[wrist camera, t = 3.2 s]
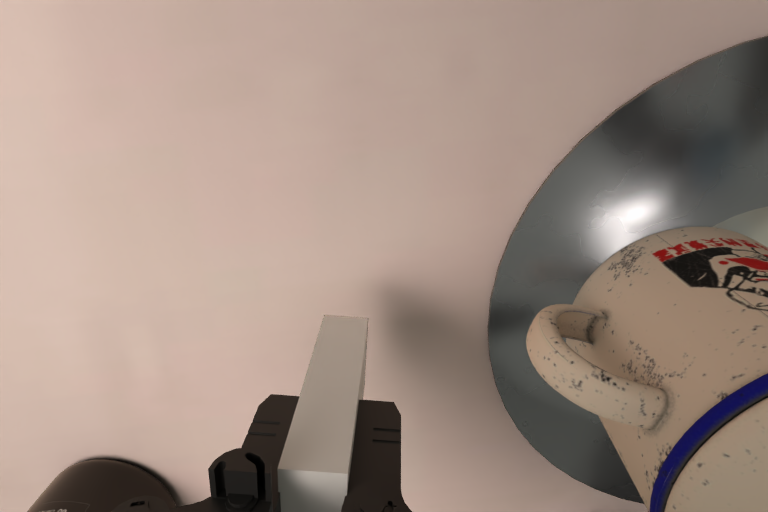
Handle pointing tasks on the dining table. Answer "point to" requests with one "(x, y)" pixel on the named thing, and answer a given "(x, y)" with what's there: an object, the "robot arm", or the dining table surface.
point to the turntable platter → (627, 229)
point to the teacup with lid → (672, 365)
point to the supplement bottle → (99, 488)
